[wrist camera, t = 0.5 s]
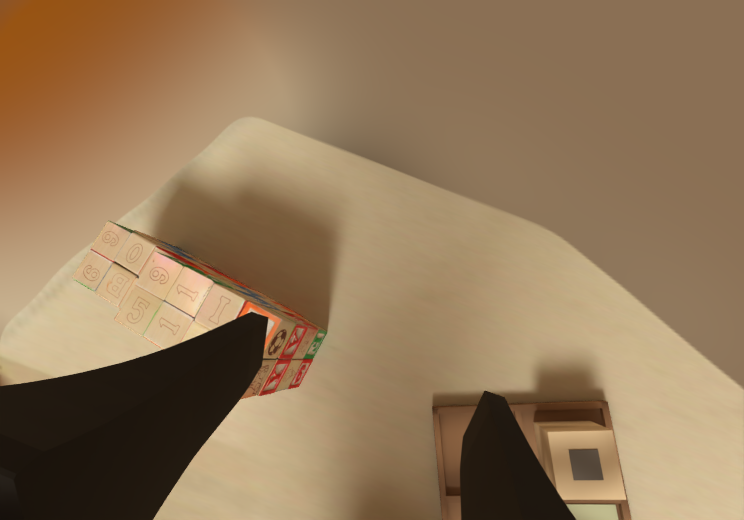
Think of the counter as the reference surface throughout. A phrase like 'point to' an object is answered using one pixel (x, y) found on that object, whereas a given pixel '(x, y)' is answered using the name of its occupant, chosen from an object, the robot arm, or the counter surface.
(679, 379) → the counter surface
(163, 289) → the stack of blocks
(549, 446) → the light wooden block
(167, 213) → the counter surface
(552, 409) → the tray
